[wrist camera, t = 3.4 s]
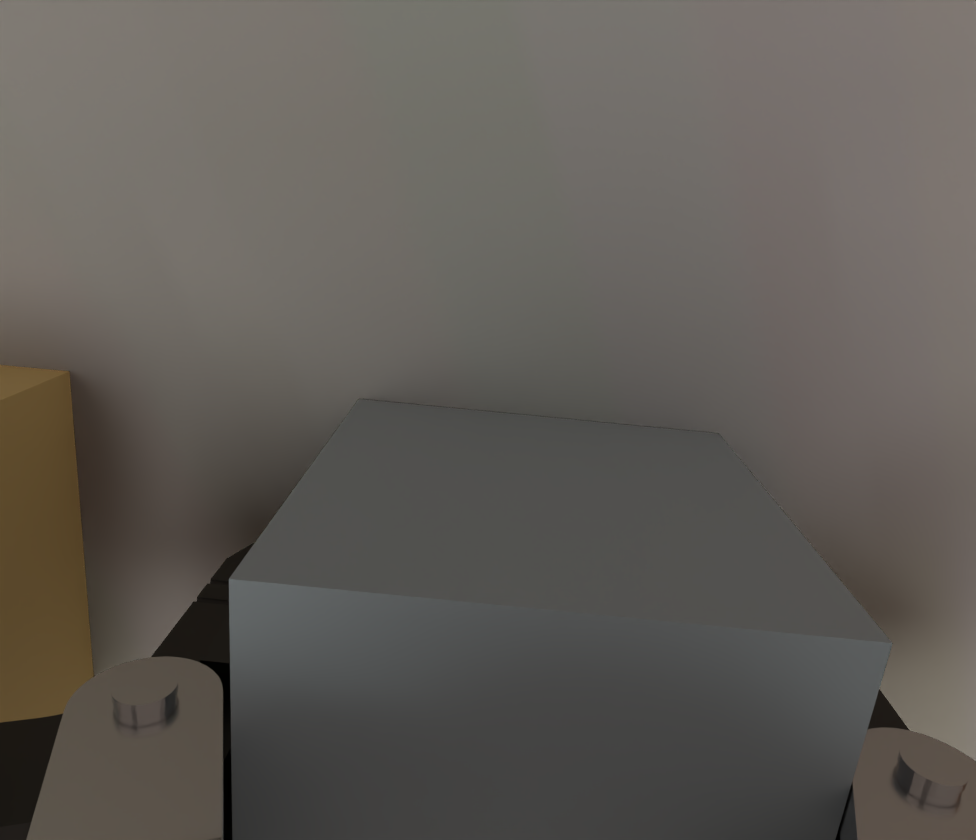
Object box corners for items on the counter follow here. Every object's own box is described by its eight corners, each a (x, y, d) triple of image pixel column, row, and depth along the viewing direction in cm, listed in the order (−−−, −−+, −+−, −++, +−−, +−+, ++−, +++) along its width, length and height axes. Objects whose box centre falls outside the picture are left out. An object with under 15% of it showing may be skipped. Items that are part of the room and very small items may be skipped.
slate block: (358, 399, 10) (229, 579, 6) (718, 433, 10) (892, 643, 6) (346, 701, 12) (235, 1045, 7) (660, 731, 12) (759, 1097, 7)
